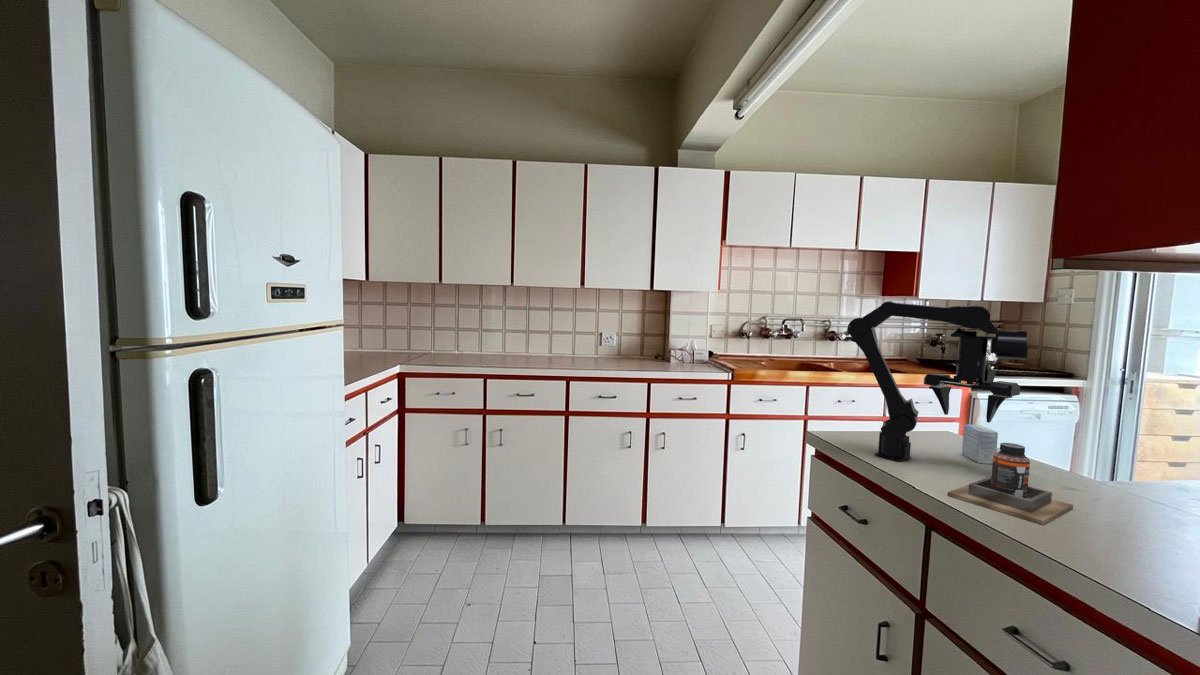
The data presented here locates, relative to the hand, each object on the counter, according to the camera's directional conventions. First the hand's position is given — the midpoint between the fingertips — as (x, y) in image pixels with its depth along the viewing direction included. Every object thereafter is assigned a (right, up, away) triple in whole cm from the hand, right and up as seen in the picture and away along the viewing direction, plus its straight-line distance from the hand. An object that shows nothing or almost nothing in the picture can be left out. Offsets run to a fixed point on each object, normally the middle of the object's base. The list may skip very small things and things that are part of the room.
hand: (966, 418), depth 125 cm
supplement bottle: (-6, -14, -20) cm, 25 cm away
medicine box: (+10, -13, +10) cm, 19 cm away
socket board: (-6, -14, -20) cm, 25 cm away
